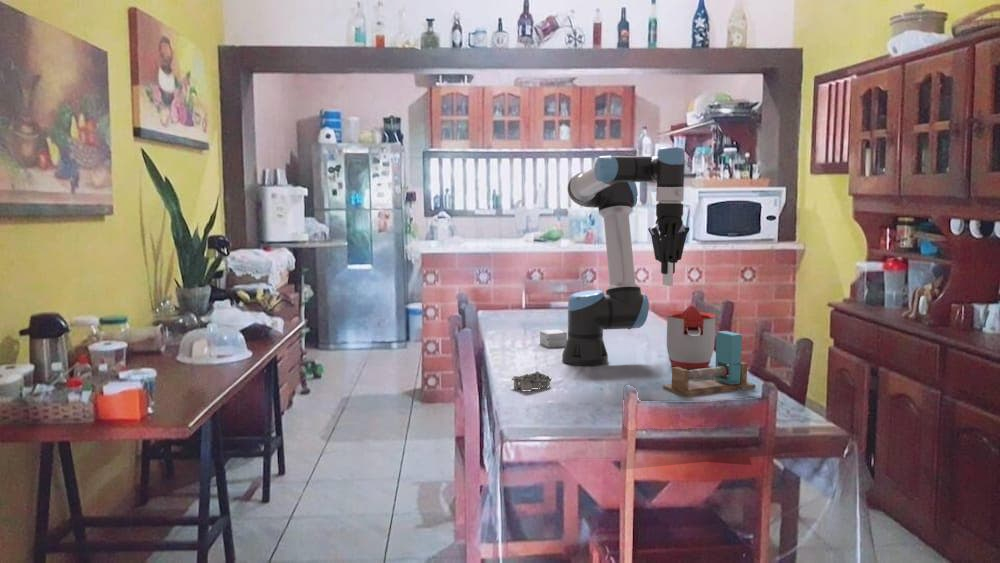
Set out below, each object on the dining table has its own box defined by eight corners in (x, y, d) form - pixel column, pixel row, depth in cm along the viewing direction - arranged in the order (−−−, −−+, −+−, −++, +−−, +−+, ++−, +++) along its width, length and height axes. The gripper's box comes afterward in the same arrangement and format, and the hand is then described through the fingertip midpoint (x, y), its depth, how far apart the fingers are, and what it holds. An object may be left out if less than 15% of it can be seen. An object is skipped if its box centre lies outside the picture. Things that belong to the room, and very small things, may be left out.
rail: (685, 396, 207) (686, 373, 206) (663, 388, 216) (663, 365, 215) (755, 387, 217) (756, 364, 217) (731, 379, 226) (732, 358, 226)
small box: (539, 343, 282) (539, 330, 282) (558, 342, 285) (558, 329, 284) (548, 347, 275) (548, 333, 274) (567, 346, 278) (567, 332, 277)
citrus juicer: (667, 372, 236) (669, 309, 234) (663, 360, 253) (664, 301, 251) (718, 373, 234) (721, 310, 232) (710, 361, 251) (712, 302, 249)
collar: (730, 384, 216) (732, 335, 214) (715, 379, 221) (716, 331, 220) (740, 383, 217) (741, 334, 215) (724, 378, 223) (726, 330, 221)
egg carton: (525, 393, 211) (525, 379, 211) (509, 388, 217) (509, 374, 217) (554, 388, 217) (554, 374, 217) (538, 382, 223) (538, 369, 223)
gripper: (658, 202, 208) (656, 287, 210) (696, 202, 213) (694, 285, 216) (642, 202, 214) (641, 284, 217) (680, 202, 220) (677, 282, 222)
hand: (667, 285), depth 216 cm, fingers closed
